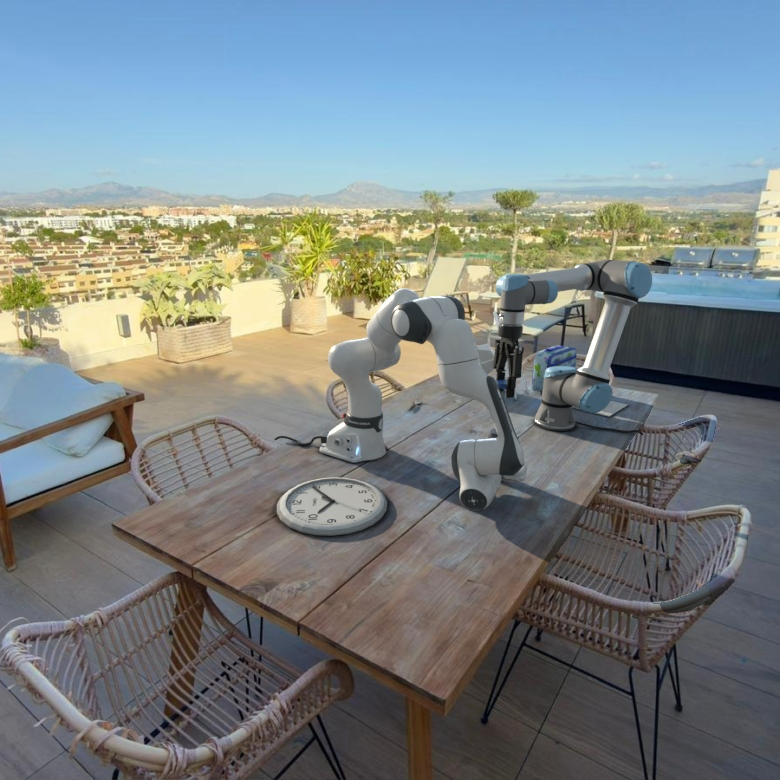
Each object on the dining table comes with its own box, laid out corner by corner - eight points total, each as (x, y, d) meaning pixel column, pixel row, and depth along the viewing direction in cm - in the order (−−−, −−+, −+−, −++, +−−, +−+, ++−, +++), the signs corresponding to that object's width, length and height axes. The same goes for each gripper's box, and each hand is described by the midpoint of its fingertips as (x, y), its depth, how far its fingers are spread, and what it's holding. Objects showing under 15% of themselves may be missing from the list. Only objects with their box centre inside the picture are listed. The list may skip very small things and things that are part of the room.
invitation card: (608, 416, 214) (573, 407, 224) (608, 416, 214) (573, 408, 224) (628, 404, 229) (594, 396, 238) (628, 405, 229) (594, 397, 238)
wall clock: (392, 527, 129) (268, 531, 127) (391, 533, 130) (269, 537, 127) (383, 473, 158) (282, 475, 155) (383, 478, 158) (282, 480, 156)
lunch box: (548, 398, 236) (553, 353, 229) (527, 393, 243) (531, 349, 237) (575, 387, 253) (581, 344, 247) (555, 382, 260) (560, 341, 254)
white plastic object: (461, 429, 252) (437, 405, 227) (444, 352, 274) (420, 323, 250) (535, 404, 240) (518, 377, 215) (510, 326, 262) (492, 293, 237)
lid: (492, 386, 171) (492, 381, 170) (502, 383, 175) (503, 378, 174) (507, 390, 167) (507, 385, 166) (518, 387, 170) (518, 382, 170)
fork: (405, 411, 216) (405, 406, 215) (417, 400, 230) (417, 395, 230) (411, 412, 215) (411, 407, 214) (422, 400, 229) (422, 396, 229)
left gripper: (524, 471, 143) (531, 452, 156) (452, 458, 151) (464, 441, 163) (522, 492, 145) (529, 472, 157) (451, 478, 152) (463, 460, 165)
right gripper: (485, 319, 172) (480, 387, 179) (516, 330, 155) (509, 404, 162) (505, 319, 174) (499, 385, 181) (538, 329, 157) (530, 402, 164)
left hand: (496, 456), depth 160 cm, fingers closed on jar, 5 cm apart
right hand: (504, 394), depth 171 cm, fingers closed on lid, 6 cm apart
